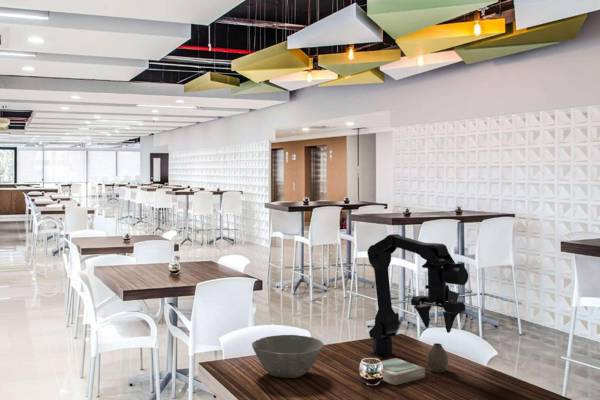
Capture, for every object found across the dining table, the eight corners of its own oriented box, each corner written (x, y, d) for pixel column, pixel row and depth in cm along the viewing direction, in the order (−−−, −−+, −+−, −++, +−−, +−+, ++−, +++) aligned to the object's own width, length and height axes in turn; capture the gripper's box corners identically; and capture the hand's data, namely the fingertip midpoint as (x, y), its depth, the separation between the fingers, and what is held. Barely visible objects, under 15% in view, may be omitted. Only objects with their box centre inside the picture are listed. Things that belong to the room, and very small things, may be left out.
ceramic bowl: (254, 364, 190) (254, 334, 190) (321, 364, 190) (322, 334, 190) (248, 386, 167) (248, 353, 167) (325, 386, 168) (325, 353, 168)
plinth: (366, 373, 180) (366, 363, 180) (395, 366, 187) (395, 357, 187) (395, 385, 169) (395, 374, 169) (425, 377, 176) (425, 367, 176)
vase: (448, 374, 179) (449, 347, 179) (426, 373, 181) (427, 346, 180) (447, 368, 186) (447, 342, 186) (426, 366, 187) (426, 340, 187)
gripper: (476, 283, 180) (477, 331, 180) (432, 277, 196) (433, 322, 195) (452, 286, 174) (453, 336, 174) (409, 280, 189) (410, 326, 189)
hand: (437, 330), depth 183 cm, fingers open, 9 cm apart
